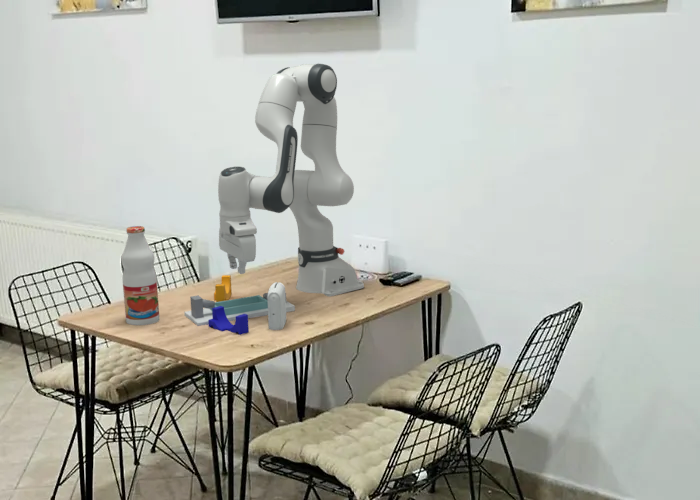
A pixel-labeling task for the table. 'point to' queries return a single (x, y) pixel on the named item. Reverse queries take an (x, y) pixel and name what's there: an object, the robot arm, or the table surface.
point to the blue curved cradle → (223, 323)
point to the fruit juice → (139, 279)
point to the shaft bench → (230, 308)
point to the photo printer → (276, 306)
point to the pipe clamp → (223, 289)
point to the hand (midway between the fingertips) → (237, 270)
